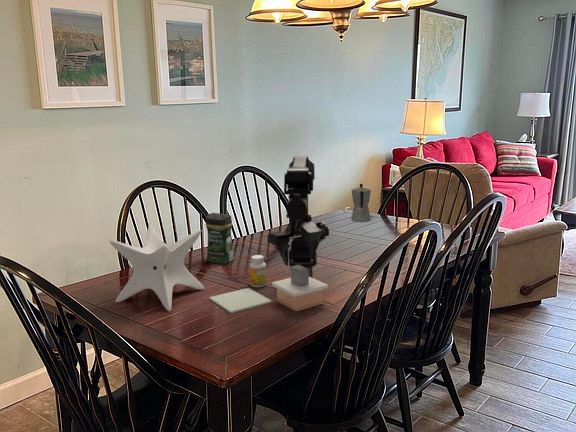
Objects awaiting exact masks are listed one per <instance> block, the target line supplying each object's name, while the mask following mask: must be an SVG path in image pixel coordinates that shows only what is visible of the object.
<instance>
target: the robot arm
mask: <svg viewBox="0 0 576 432" xmlns="http://www.w3.org/2000/svg"><path fill="white" fill-rule="evenodd" d="M315 171H316V170H315V163H314V162H312V161H311V160H310V158H309V156H307V155H295V156H292V161H291V162H290V163H289V165H288V168H287V169H286V172H284V175H283V176H284V177H283V178H284V180H283V181H284V182H283V183H284V185H283V195H288V196H287V197H288V201H287V203H286V207H285V211H286V214H285V215H286V218H287V219H288V227H286V232H287V233H285V232H283V231H279V230H277V231H274V232H273V231H272V232H269V234H268V235H267V243H269V244H271V245H272V246H275V248H276V250H277V251H278V253H279V256H280V257H281V260H282V261H283V263H284V266H286V267H288V265H289V267H291V266H295V265H301V266H303V267H305V268H308V269H309V277H311V278H313V279H314V277H313V274H314V273H313V269H314V267H315V266H317V265H318V259H317V258H318V257H317V255H318V254H317V250H318V248H319V245H320V243H321V242H322V241H323V240H325V239H327V237H329V236H330V229H329V228H328V226H327V225H326V223H325V222H324V221H323V220H322V221H317V222H313V219H312V215H311V214H309V195H312V192H313V191H314V180H315V177H316V176H315V175H316V174H315ZM290 240H291V243H290V244H289V242H290Z"/></svg>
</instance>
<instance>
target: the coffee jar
mask: <svg viewBox="0 0 576 432" xmlns="http://www.w3.org/2000/svg"><path fill="white" fill-rule="evenodd" d="M205 226H206V230H207V250H206V251H207V259H206V260H207V262H210V263H214V264H220V265H222V264H223V265H224V264H229V263H231V262H233V260H234V249H233V241H232V226H233V220H232V215H231V214H226V213H218V212H217V213H216V212H210V213H209V214H207V215H206V217H205Z"/></svg>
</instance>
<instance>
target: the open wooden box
mask: <svg viewBox="0 0 576 432" xmlns="http://www.w3.org/2000/svg"><path fill="white" fill-rule="evenodd" d="M276 301H277V302H278V303H280V304H282V305H283V306H285V307H287V308H289V309H291V310H293V311H295V312H299V311H301V310H306V309H309V308H312V307H315V306H319V305H322V304H324V289H322V290H319V291H315V292H311V293H308V294H304V295H300V296H296V297H294V296H292V295H290V294H288V293H286V292H284V291H282V290H280V289H278V288H276Z"/></svg>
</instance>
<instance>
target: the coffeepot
mask: <svg viewBox="0 0 576 432" xmlns="http://www.w3.org/2000/svg"><path fill="white" fill-rule="evenodd" d="M363 186H364V184H363V183H359V187H356V188H352V189H351V197H352V203H353V209H352V214H351V220H352V221H353V222H356V223H367V222H370V220H371V215H370V210H369V209H370V208H369V204H370V199H371V198H370V197H371V192H372V190H371V189H369V188H365V187H363Z"/></svg>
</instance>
